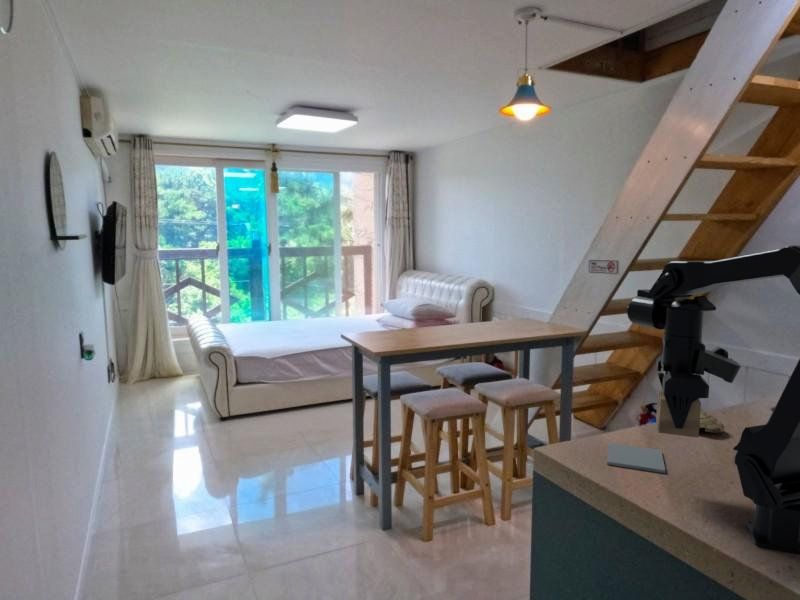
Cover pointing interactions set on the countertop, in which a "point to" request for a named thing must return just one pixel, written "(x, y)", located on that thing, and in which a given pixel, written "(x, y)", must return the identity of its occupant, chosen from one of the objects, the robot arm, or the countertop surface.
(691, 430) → the beige cube
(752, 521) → the robot arm
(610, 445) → the coaster
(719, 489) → the countertop surface
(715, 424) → the seashell
